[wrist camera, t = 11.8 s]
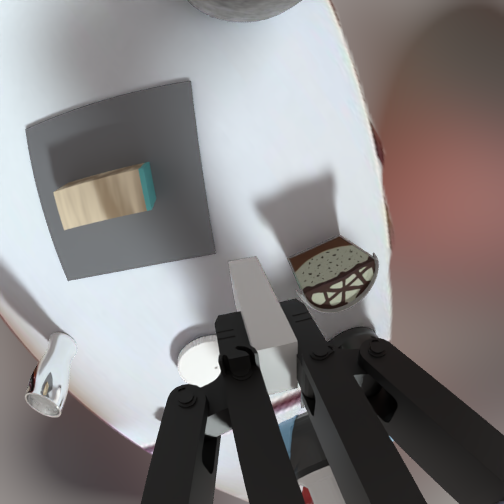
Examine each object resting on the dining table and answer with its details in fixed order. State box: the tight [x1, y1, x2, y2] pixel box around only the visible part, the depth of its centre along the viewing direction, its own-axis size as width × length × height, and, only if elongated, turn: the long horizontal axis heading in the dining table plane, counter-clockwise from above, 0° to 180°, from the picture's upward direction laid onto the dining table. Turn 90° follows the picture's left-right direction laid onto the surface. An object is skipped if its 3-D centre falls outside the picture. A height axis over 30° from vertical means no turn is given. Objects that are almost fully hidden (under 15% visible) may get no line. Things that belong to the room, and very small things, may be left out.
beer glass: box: [25, 332, 78, 417], centre depth 37 cm, size 7×7×15 cm
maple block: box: [53, 162, 156, 230], centre depth 32 cm, size 5×5×12 cm
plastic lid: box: [178, 335, 221, 387], centre depth 50 cm, size 14×14×2 cm
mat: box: [25, 81, 216, 281], centre depth 34 cm, size 24×24×1 cm
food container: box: [287, 235, 379, 313], centre depth 42 cm, size 12×6×10 cm, turn 110°
